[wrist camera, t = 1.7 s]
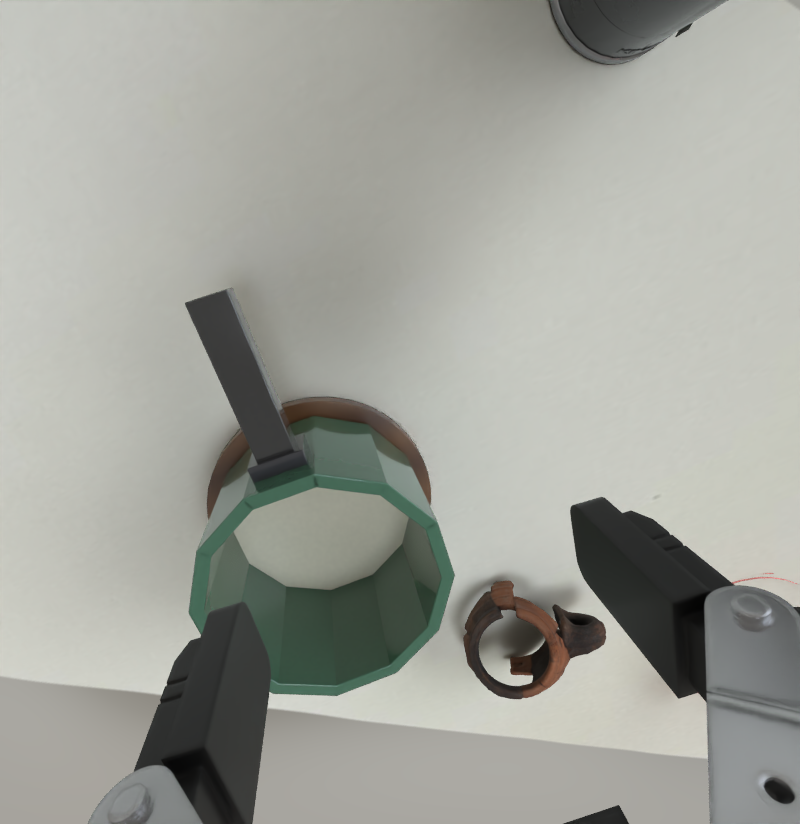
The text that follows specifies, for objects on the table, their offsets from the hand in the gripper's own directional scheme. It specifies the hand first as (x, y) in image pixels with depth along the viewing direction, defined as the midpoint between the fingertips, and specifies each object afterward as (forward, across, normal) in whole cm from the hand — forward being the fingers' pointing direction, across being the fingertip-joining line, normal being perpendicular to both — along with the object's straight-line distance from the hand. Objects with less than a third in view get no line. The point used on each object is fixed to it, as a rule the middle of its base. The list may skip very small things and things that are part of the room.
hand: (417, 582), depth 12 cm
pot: (+24, +6, +5) cm, 25 cm away
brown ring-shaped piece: (+26, -8, +27) cm, 39 cm away
